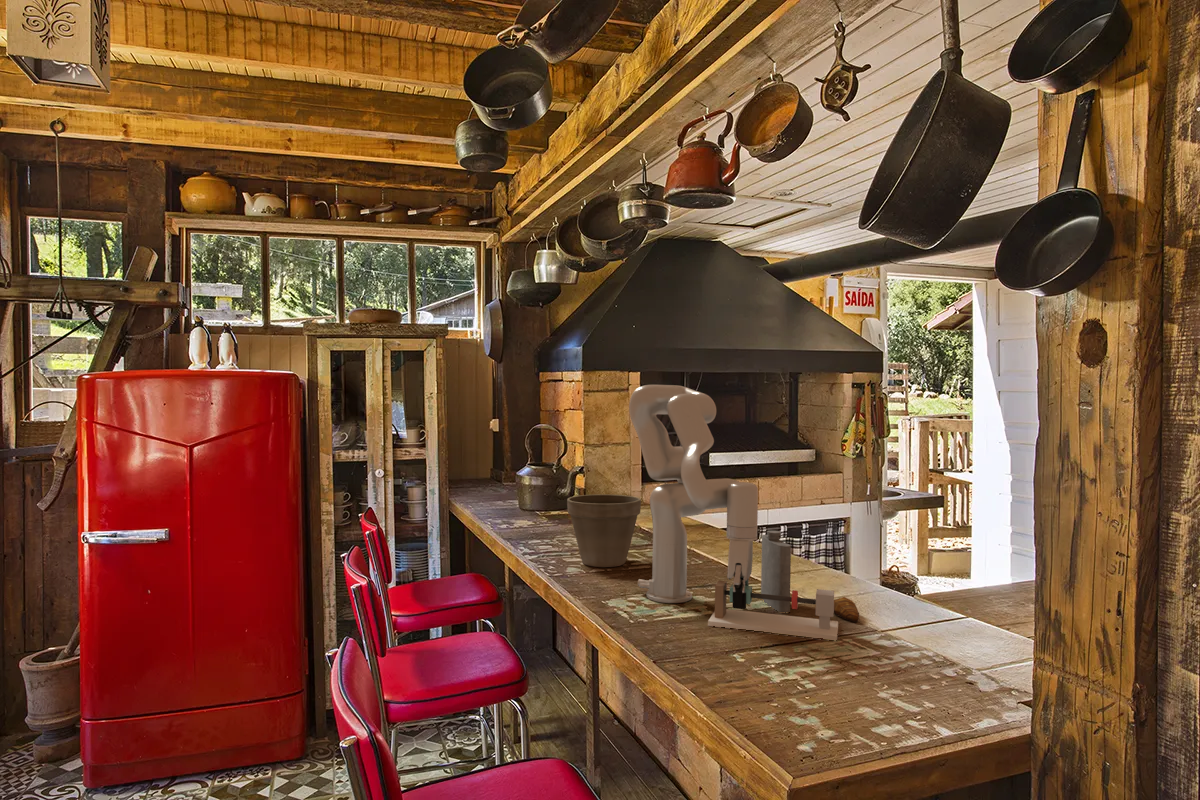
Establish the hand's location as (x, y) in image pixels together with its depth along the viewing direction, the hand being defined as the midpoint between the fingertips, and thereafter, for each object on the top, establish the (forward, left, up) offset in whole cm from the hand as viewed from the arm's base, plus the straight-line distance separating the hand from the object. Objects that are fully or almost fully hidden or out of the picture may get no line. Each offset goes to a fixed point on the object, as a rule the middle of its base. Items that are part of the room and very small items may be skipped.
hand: (740, 604), depth 181 cm
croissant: (+24, +16, -5) cm, 29 cm away
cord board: (+8, 0, -4) cm, 9 cm away
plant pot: (-53, +48, -5) cm, 72 cm away
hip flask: (+6, +19, -5) cm, 20 cm away
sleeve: (0, 0, +1) cm, 1 cm away
